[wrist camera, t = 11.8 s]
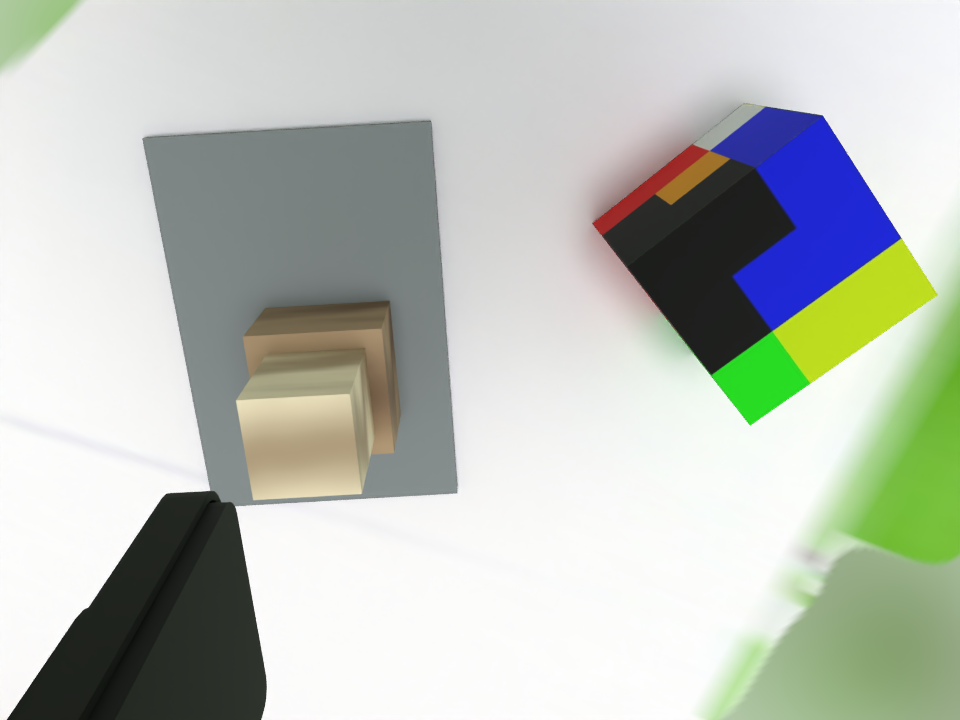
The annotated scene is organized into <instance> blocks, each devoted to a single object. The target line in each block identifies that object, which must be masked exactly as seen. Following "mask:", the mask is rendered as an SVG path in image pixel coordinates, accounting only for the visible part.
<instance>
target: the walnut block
mask: <svg viewBox="0 0 960 720" xmlns="http://www.w3.org/2000/svg"><path fill="white" fill-rule="evenodd" d="M243 341H244V348H245V354H246V360H247V366H248V372H249V378H251V377H252V375H253V374H254V372H255V371H256V369H257V368H258V366H259V365H260V363H261V362H262V360H263V359H264V357H265V356H266V354H269V353H287V352H304V351H321V350H339V349H356V348H365V351H366V360H367V369H368V378H369V388H370V397H371V406H372V415H373V424H374V433H375V439H374V443H373V447H372V452H371V454H387V453H394V451H395V445H396V440H397V434H398V428H399V422H400V416H401V412H400V401H399V391H398V381H397V370H396V360H395V349H394V339H393V329H392V318H391V308H390V301H377V302H360V303H342V304H325V305H308V306H291V307H273V308H265V309H264V310H263V311H262V313H261V314H260V315H259V317H258V318H257V319H256V320H255V322H254V323H253V324H252V325H251V327H250V328H249V329H248V331H247V332H246V333H245V334H244V336H243Z"/></svg>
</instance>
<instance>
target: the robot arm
mask: <svg viewBox="0 0 960 720" xmlns="http://www.w3.org/2000/svg"><path fill="white" fill-rule="evenodd" d="M266 691H267V684H266V674H265V668H264V662H263V657H262V651H261V646H260V640H259V634H258V629H257V623H256V618H255V612H254V606H253V601H252V595H251V589H250V584H249V578H248V573H247V567H246V561H245V556H244V550H243V545H242V539H241V533H240V528H239V522H238V517H237V512H236V508H235V506H234V504H233V503H232V502H221V500H220V498H219V496H218V494H217V493H216V492H215V491H204V492H185V493H169V494H166V495H165V496H164V497H163V498H162V499H161V500H160V502H159V503H158V505H157V506H156V508H155V509H154V511H153V512H152V514H151V515H150V517H149V518H148V520H147V521H146V523H145V524H144V526H143V527H142V529H141V530H140V532H139V533H138V535H137V536H136V538H135V539H134V541H133V542H132V544H131V545H130V547H129V548H128V550H127V551H126V553H125V554H124V556H123V557H122V559H121V560H120V562H119V563H118V565H117V566H116V568H115V569H114V571H113V572H112V574H111V575H110V577H109V578H108V579H107V581H106V582H105V584H104V585H103V587H102V588H101V590H100V591H99V593H98V594H97V596H96V597H95V599H94V600H93V602H92V603H91V605H90V606H89V608H86V609H84V610H83V611H82V612H81V613H80V615H79V616H78V617H77V618H76V619H75V620H74V622H73V623H72V625H71V626H70V628H69V629H68V631H67V632H66V634H65V635H64V637H63V638H62V640H61V641H60V642H59V644H58V645H57V647H56V648H55V650H54V651H53V653H52V654H51V656H50V657H49V659H48V660H47V662H46V663H45V664H44V666H43V667H42V669H41V670H40V672H39V673H38V675H37V676H36V678H35V679H34V681H33V682H32V684H31V685H30V687H29V688H28V689H27V691H26V692H25V694H24V695H23V697H22V698H21V700H20V701H19V703H18V704H17V706H16V707H15V709H14V710H13V712H12V713H11V714H10V716H9V717H8V719H7V720H261V718H262V715H263V711H264V707H265V702H266Z"/></svg>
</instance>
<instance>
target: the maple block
mask: <svg viewBox="0 0 960 720" xmlns="http://www.w3.org/2000/svg"><path fill="white" fill-rule="evenodd" d="M236 404H237V409H238V415H239V421H240V427H241V433H242V438H243V444H244V450H245V456H246V462H247V467H248V473H249V479H250V485H251V490H252V496H253V500H266V499H283V498H301V497H318V496H335V495H353V494H362V491H363V487H364V482H365V478H366V473H367V469H368V465H369V460H370V456H371V452H372V447H373V443H374V439H375V433H374V424H373V415H372V406H371V397H370V388H369V378H368V369H367V360H366V351H365V348H356V349H339V350H321V351H304V352H287V353H269V354H266V356H265V357H264V359H263V360H262V362H261V363H260V365H259V366H258V368H257V369H256V371H255V372H254V374H253V375H252V377H251V378H250V380H249V381H248V383H247V384H246V386H245V387H244V389H243V390H242V392H241V393H240V395H239V396H238V398H237V400H236Z"/></svg>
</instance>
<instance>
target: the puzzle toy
mask: <svg viewBox="0 0 960 720" xmlns="http://www.w3.org/2000/svg"><path fill="white" fill-rule="evenodd" d="M593 225H594V226H595V228H596V229H597V230H598V231H599V233H600V234H601V235H602V237H603V238H604V239H605V240H606V242H607V243H608V244H609V246H610V247H611V248H612V249H613V251H614V252H615V253H616V255H617V256H618V257H619V258H620V260H621V261H622V262H623V264H624V265H625V266H626V267H627V269H628V270H629V271H630V273H631V274H632V275H633V276H634V278H635V279H636V280H637V282H638V283H639V284H640V285H641V287H642V288H643V289H644V291H645V292H646V293H647V294H648V296H649V297H650V298H651V300H652V301H653V302H654V303H655V305H656V306H657V307H658V309H659V310H660V311H661V313H662V314H663V315H664V316H665V318H666V319H667V320H668V322H669V323H670V324H671V325H672V327H673V328H674V329H675V331H676V332H677V333H678V334H679V336H680V337H681V338H682V340H683V341H684V342H685V343H686V345H687V346H688V347H689V349H690V350H691V351H692V352H693V354H694V355H695V356H696V357H697V359H698V360H699V361H700V363H701V364H702V365H703V366H704V368H705V369H706V370H707V371H708V373H709V374H710V375H711V376H712V378H713V379H714V380H715V382H716V383H717V384H718V385H719V387H720V388H721V389H722V390H723V392H724V393H725V394H726V395H727V397H728V398H729V399H730V401H731V402H732V403H733V404H734V406H735V407H736V408H737V409H738V411H739V412H740V413H741V414H742V416H743V417H744V418H745V420H746V421H747V422H748V423H749V425H752V424H753V423H754V422H756V421H757V420H759V419H760V418H762V417H763V416H764V415H766V414H767V413H769V412H770V411H772V410H773V409H775V408H776V407H777V406H779V405H780V404H782V403H783V402H785V401H786V400H787V399H789V398H790V397H792V396H793V395H795V394H796V393H798V392H799V391H800V390H802V389H803V388H805V387H806V386H808V385H809V384H810V383H812V382H813V381H815V380H816V379H818V378H819V377H821V376H822V375H823V374H825V373H826V372H828V371H829V370H831V369H832V368H833V367H835V366H836V365H838V364H839V363H841V362H842V361H844V360H845V359H846V358H848V357H849V356H851V355H852V354H854V353H855V352H857V351H858V350H859V349H861V348H862V347H864V346H865V345H867V344H868V343H869V342H871V341H872V340H874V339H875V338H877V337H878V336H880V335H881V334H882V333H884V332H885V331H887V330H888V329H890V328H891V327H892V326H894V325H895V324H897V323H898V322H900V321H901V320H903V319H904V318H905V317H907V316H908V315H910V314H911V313H913V312H914V311H915V310H917V309H918V308H920V307H921V306H923V305H924V304H926V303H927V302H928V301H930V300H931V299H933V298H934V297H936V296H937V293H936V291H935V290H934V288H933V287H932V285H931V284H930V282H929V281H928V279H927V277H926V276H925V274H924V273H923V271H922V270H921V268H920V266H919V265H918V263H917V262H916V260H915V259H914V257H913V256H912V254H911V252H910V251H909V249H908V248H907V246H906V245H905V243H904V241H903V240H902V238H901V237H900V235H899V234H898V232H897V231H896V229H895V227H894V226H893V224H892V223H891V221H890V220H889V218H888V217H887V215H886V213H885V212H884V210H883V209H882V207H881V206H880V204H879V202H878V201H877V199H876V198H875V196H874V195H873V193H872V192H871V190H870V188H869V187H868V185H867V184H866V182H865V181H864V179H863V178H862V176H861V174H860V173H859V171H858V170H857V168H856V167H855V165H854V163H853V162H852V160H851V159H850V157H849V156H848V154H847V153H846V151H845V149H844V148H843V146H842V145H841V143H840V142H839V140H838V139H837V137H836V135H835V134H834V132H833V131H832V129H831V128H830V126H829V124H828V123H827V121H826V120H825V118H824V117H823V115H817V114H810V113H804V112H797V111H791V110H784V109H778V108H771V107H765V106H759V105H752V104H746V103H744V104H743V105H741V106H740V107H739V108H737V109H736V110H735V111H734V112H732V113H731V114H730V115H729V116H727V117H726V118H725V119H724V120H722V121H721V122H720V123H719V124H717V125H716V126H715V127H714V128H712V129H711V130H710V131H708V132H707V133H706V134H705V135H703V136H702V137H701V138H700V139H698V140H697V141H696V142H695V143H693V144H692V145H691V146H690V147H688V148H687V149H686V150H685V151H683V152H682V153H681V154H680V155H678V156H677V157H676V158H674V159H673V160H672V161H671V162H669V163H668V164H667V165H666V166H664V167H663V168H662V169H661V170H659V171H658V172H657V173H656V174H654V175H653V176H652V177H651V178H649V179H648V180H647V181H645V182H644V183H643V184H642V185H640V186H639V187H638V188H637V189H635V190H634V191H633V192H632V193H630V194H629V195H628V196H627V197H625V198H624V199H623V200H622V201H620V202H619V203H618V204H617V205H615V206H614V207H613V208H611V209H610V210H609V211H608V212H606V213H605V214H604V215H603V216H601V217H600V218H599V219H598V220H596V221H595V222H594V223H593Z"/></svg>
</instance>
